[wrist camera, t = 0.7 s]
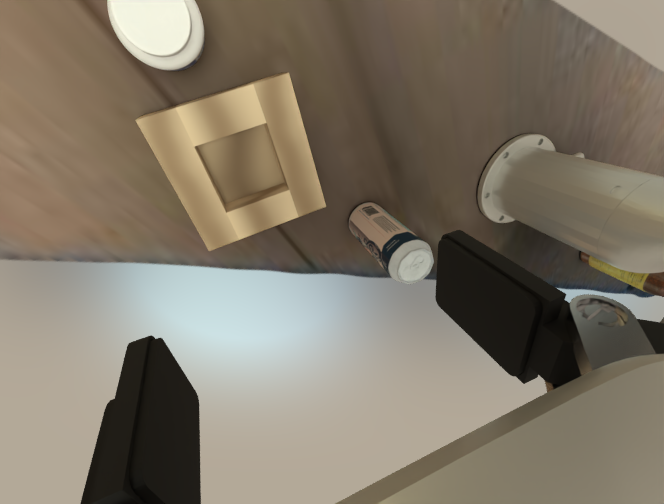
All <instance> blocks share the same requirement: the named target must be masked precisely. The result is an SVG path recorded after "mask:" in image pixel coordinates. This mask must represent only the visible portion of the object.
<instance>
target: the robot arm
mask: <svg viewBox="0 0 664 504" xmlns="http://www.w3.org/2000/svg"><path fill="white" fill-rule="evenodd" d="M477 198H478V205H479V208H480V210H481V212H482V213H483V215H484V216H486V217H487V218H488V219H490V220H492V221H494V222H497V223H508V222H512V221H515V220H518V221H520V222H522V223H524V224H526V225H528V226H530V227H532V228H534V229H536V230H538V231H540V232H542V233H545V234H547V235H549V236H551V237H553V238H555V239H557V240H559V241H561V242H563V243H565V244H567V245H569V246H571V247H574V248H576V249H578V250H580V251H582V252H584V253H586V254H588V255H590V256H592V257H594V258H596V259H598V260H601V261H603V262H605V263H607V264H609V265H611V266H613V267H616V268H618V269H621V270H624V271H628V272H634V273H660V272H664V177H663V176H658V175H654V174H650V173H645V172H641V171H637V170H632V169H628V168H624V167H620V166H615V165H611V164H607V163H602V162H598V161H594V160H589V159H585V158H584V154H583V153H581V152H578V153H575V154H573V155H568V154H564V153H559V152H556V150H555V147H554V145H553V143H552V142H551V141H550V139H548V138H547V137H545V136H542V135H538V134H531V133H529V134H523V135H520V136H517V137H515V138H513V139H512V140H510V141H508V142H507V143H506V144H505V145H503V146H502V147H501V148H500V149H499V150H498V151H497V152H496V153H495V154H494V155H493V157H492V158H491V160H490V161H489V163H488V164H487V166H486V168H485V170H484V172H483V174H482V177H481V179H480V183H479V187H478V197H477ZM565 296H566V294H565V293H563V292H562V291H560V290H558V289H557V288H555V287H553V286H552V285H550V284H548V283H547V282H545V281H543V280H542V279H540V278H538V277H537V276H535V275H534V274H532V273H530V272H529V271H527V270H525V269H524V268H522V267H520V266H519V265H517V264H515V263H514V262H512V261H510V260H509V259H507V258H506V257H504V256H502V255H501V254H499V253H497V252H496V251H494V250H492V249H491V248H489V247H487V246H486V245H484V244H482V243H481V242H479V241H478V240H476V239H474V238H473V237H471V236H469V235H468V234H466V233H464V232H463V231H460V230H456V231H453V232H451V233H448V234H445V235H443V236H442V238H441V240H440V241H439V244H438V261H437V280H436V301H437V304H438V305H439V307H440V308H441V309H442V310H443V311H444V312H445V313H447V314H448V315H449V316H450V317H451V318H452V319H453V320H454V321H455V322H456V323H457V324H458V325H459V326H460V327H461V328H462V329H463V330H464V331H465V332H466V333H467V334H468V335H469V336H470V337H471V338H472V339H473V340H474V341H475V342H476V343H477V344H478V345H479V346H481V347H482V348H483V349H484V350H485V351H486V352H487V353H488V354H489V355H490V356H491V357H492V358H493V359H494V360H495V361H496V362H497V363H498V364H499V365H500V366H501V367H502V368H503V369H504V370H505V371H506V372H507V373H509V374H510V375H512V376H516V377H517V378H518V379H519V380H520V381H521V382H522V383H524V384H525V383H527V382H529V381H531V380H533V379H535V378H537V377H538V374H539V375H540V376H541V377H542V378H543V379H544V380H545V384H546V389H547V393H546V394H544V395H542V396H540V397H538V398H536V399H534V400H533V401H531V402H528V403H527V404H525V405H523V406H521V407H519V408H517V409H515V410H513V411H511V412H509V413H507V414H505V415H503V416H501V417H500V418H498V419H496V420H494V421H492V422H490V423H488V424H486V425H484V426H482V427H480V428H478V429H476V430H475V431H473V432H471V433H469V434H467V435H465V436H463V437H461V438H459V439H457V440H455V441H453V442H451V443H450V444H448V445H446V446H444V447H442V448H440V449H438V450H436V451H434V452H432V453H430V454H429V455H427V456H425V457H423V458H421V459H419V460H417V461H415V462H413V463H411V464H410V465H408V466H406V467H404V468H402V469H400V470H398V471H396V472H395V473H392V474H391V475H389V476H387V477H385V478H383V479H381V480H379V481H377V482H375V483H373V484H372V485H370V486H368V487H366V488H364V489H362V490H360V491H358V492H356V493H355V494H353V495H351V496H349V497H347V498H345V499H343V500H341V501H340V502H338V503H336V504H664V318H663V319H662V321H661V322H660V323H659V322H653V321H647V320H640V319H636V317H635V315H634V314H632V312H631V311H630V310H629V309H628V308H627V307H625V306H624V305H623V304H621V303H619V302H617V301H615V300H613V299H609V298H607V297H604V296H598V295H580V296H577V297H575V298H573V299H572V300H571V302H570V303H568V302H567V301H565V300H564V299H565ZM199 434H200V430H199V400H198V396H197V393H196V391H195V390H194V388H193V387H192V385H191V383H190V382H189V380H188V379H187V377H186V375H185V374H184V372H183V371H182V369H181V367H180V366H179V364H178V363H177V361H176V360H175V358H174V357H173V355H172V353H171V352H170V350H169V348H168V347H167V345H166V344H165V342H164V341H163V339H162V338H158V339H155V338H154V337H153V336H148V337H145V338H142V339H139V340H136V341H133V342H131V343H129V345H128V346H127V350H126V354H125V358H124V363H123V367H122V371H121V375H120V379H119V383H118V387H117V392H116V396H115V399H113V400H110V402H109V403H108V404H107V406H106V409H105V412H104V416H103V419H102V423H101V427H100V431H99V435H98V439H97V442H96V447H95V450H94V454H93V458H92V462H91V465H90V469H89V473H88V477H87V481H86V485H85V488H84V492H83V496H82V500H81V504H201V496H200V435H199Z"/></svg>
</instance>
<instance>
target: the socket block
mask: <svg viewBox="0 0 664 504" xmlns="http://www.w3.org/2000/svg"><path fill="white" fill-rule="evenodd" d="M136 122H137V124H138V125H139V127H140V129H141V131H142V133H143V134H144V136H145V138H146V140H147V141H148V143H149V145H150V147H151V149H152V150H153V152H154V154H155V156H156V157H157V159H158V161H159V163H160V165H161V166H162V168H163V170H164V172H165V173H166V175H167V177H168V179H169V181H170V182H171V184H172V186H173V188H174V189H175V191H176V193H177V195H178V197H179V198H180V200H181V202H182V204H183V205H184V207H185V209H186V211H187V213H188V214H189V216H190V218H191V220H192V222H193V223H194V225H195V227H196V229H197V230H198V232H199V234H200V236H201V238H202V239H203V241H204V243H205V245H206V246H207V248H208V250H209V251H211V250H214V249H216V248H219V247H222V246H224V245H227V244H229V243H232V242H235V241H237V240H240V239H243V238H245V237H248V236H250V235H253V234H256V233H258V232H261V231H263V230H266V229H269V228H271V227H274V226H277V225H279V224H282V223H284V222H287V221H290V220H292V219H295V218H297V217H300V216H303V215H305V214H308V213H311V212H313V211H316V210H318V209H321V208H324V207H326V204H325V200H324V197H323V193H322V190H321V186H320V182H319V179H318V175H317V172H316V168H315V165H314V161H313V157H312V154H311V150H310V147H309V143H308V140H307V136H306V132H305V129H304V125H303V122H302V118H301V115H300V111H299V107H298V104H297V100H296V97H295V93H294V90H293V86H292V82H291V79H290V75H289V73H279V74H276V75H273V76H269V77H266V78H263V79H260V80H256V81H253V82H250V83H247V84H243V85H240V86H237V87H234V88H230V89H227V90H224V91H221V92H217V93H214V94H211V95H208V96H204V97H201V98H198V99H194V100H191V101H188V102H185V103H181V104H178V105H175V106H172V107H168V108H165V109H162V110H159V111H155V112H152V113H149V114H146V115H142V116H141V117H139V118H138V119H136Z"/></svg>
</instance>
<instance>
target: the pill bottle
mask: <svg viewBox="0 0 664 504" xmlns="http://www.w3.org/2000/svg"><path fill="white" fill-rule="evenodd" d="M107 5H108V14H109V18H110V21H111V24H112V26H113V29H114V31H115V33H116V35H117V37H118V38H119V40H120V41H121V42H122V44H123V45H124V46H125V47H126V49H127V50H128V51H129V52H130V53H131V54H132V55H134V56H135V57H136V58H137V59H139V60H140V61H142V62H144V63H145V64H147V65H149V66H152V67H154V68H157V69H161V70H170V71H180V70H185V69H187V68H190V67H191V66H193V65H194V64H195V63H196V62H197V61H198V60H199V58H200V56H201V55H202V52H203V49H204V42H205V37H204V24H203V20H202V16H201V13H200V11H199V8H198V6H197V4H196V2H195V0H107Z"/></svg>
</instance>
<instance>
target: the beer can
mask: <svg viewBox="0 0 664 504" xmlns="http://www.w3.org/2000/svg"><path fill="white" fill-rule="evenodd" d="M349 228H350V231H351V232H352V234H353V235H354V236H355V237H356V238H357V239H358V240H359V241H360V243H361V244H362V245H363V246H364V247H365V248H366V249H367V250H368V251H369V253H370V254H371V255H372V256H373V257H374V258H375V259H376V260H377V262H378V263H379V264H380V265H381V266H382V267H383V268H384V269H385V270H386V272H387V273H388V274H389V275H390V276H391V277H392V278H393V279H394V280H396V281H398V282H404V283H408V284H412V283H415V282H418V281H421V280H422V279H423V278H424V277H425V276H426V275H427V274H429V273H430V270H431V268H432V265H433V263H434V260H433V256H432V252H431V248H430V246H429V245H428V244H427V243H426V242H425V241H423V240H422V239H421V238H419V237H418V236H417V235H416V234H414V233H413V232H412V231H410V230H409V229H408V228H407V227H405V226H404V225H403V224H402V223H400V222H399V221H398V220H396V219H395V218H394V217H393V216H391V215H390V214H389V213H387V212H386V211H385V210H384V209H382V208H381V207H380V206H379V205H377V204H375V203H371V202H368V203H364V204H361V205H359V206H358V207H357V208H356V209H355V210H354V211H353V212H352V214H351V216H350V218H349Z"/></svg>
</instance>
